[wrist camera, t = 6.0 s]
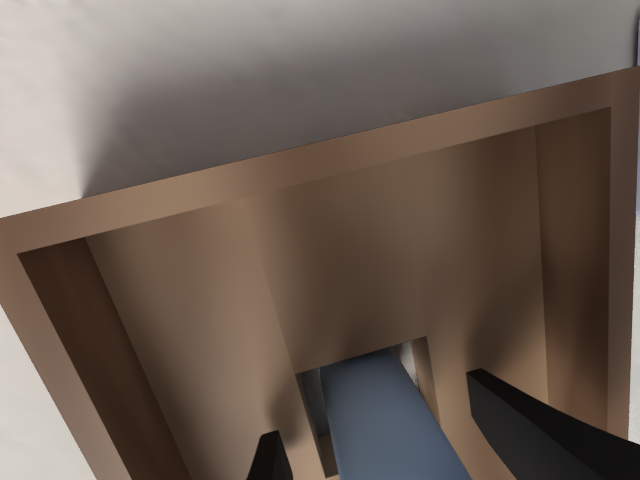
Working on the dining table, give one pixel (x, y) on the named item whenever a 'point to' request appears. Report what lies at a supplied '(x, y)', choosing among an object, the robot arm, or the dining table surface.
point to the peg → (384, 423)
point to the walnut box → (340, 283)
